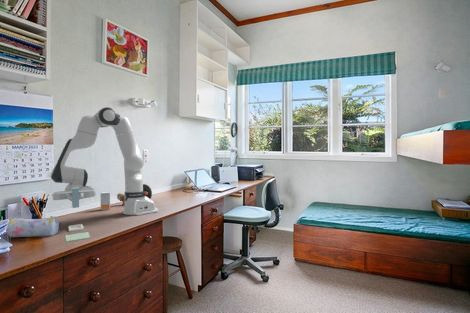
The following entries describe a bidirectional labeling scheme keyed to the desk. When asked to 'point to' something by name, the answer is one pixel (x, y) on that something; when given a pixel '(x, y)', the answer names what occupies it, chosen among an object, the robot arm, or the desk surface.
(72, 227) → the slot box
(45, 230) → the pencil case
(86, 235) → the green mat
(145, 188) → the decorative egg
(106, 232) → the desk surface
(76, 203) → the blue cover plate
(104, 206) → the skincare box
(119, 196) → the lion figurine
